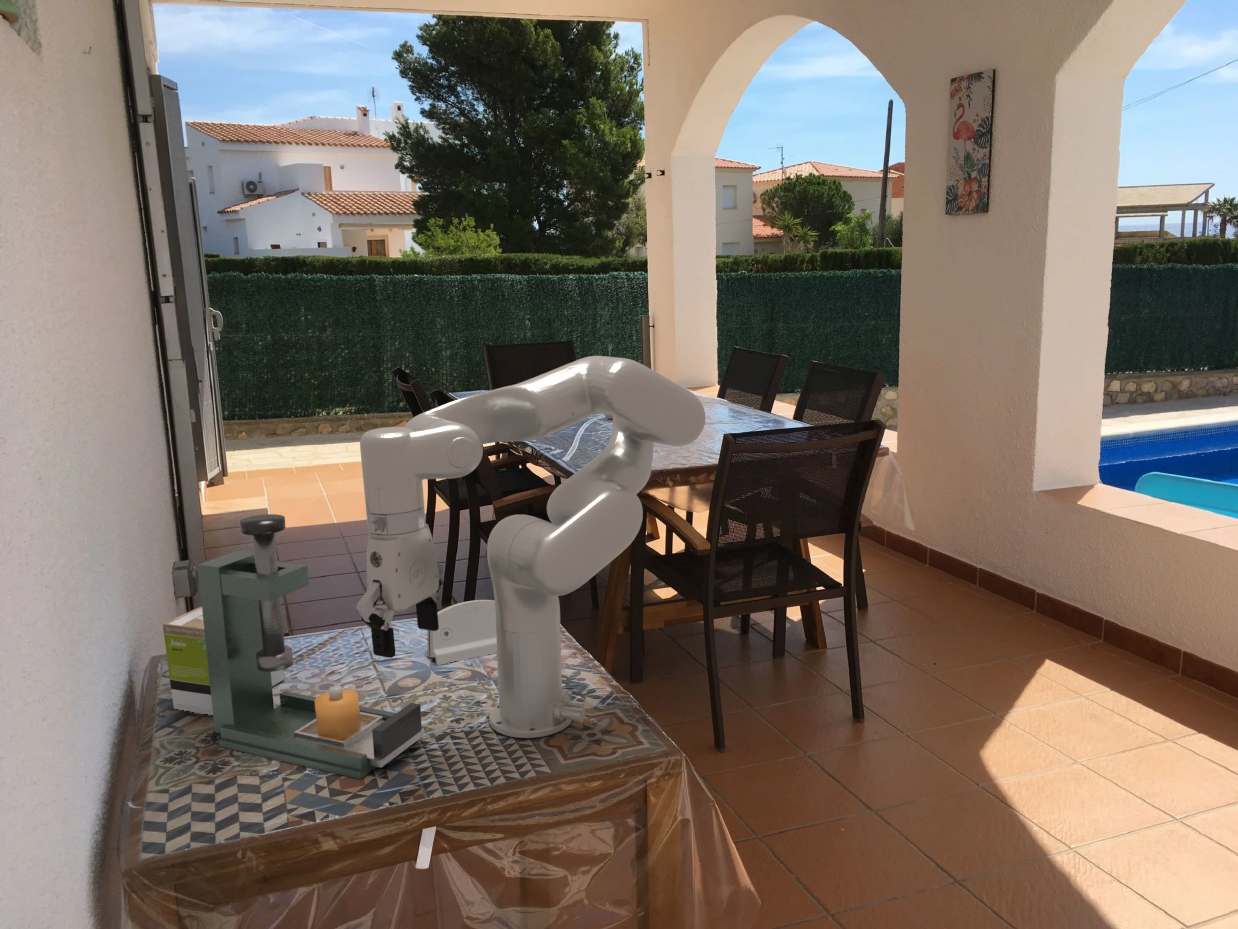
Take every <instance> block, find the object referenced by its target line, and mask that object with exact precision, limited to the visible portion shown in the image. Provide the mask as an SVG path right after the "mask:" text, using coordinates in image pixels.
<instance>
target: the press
mask: <svg viewBox="0 0 1238 929" xmlns="http://www.w3.org/2000/svg"><path fill="white" fill-rule="evenodd" d="M277 562H278V571H277V572H274V573H272V574H269V575H263V574H256V567H255V556H254V551H251V550H250V551H249V550H244V549H243V550H241V549H239V550H236V551H235V550H234V551H233V552H230V553H227V554H224V555H221V556H219V557H216V558H212V559H210V560H207V561H203V562H202V563H199V564H197V571H198V580H199V581H198V582H199V591H200V592H199V593H200V600H201V602H200V603H201V606H202V612H203V621H204V631H205V641H206V651H207V660H208V670H209V680H210V690H211V699H212V709H213V716H212V717H213V726H214V733H215V734H219V733H220V734H219V735H220V739H219V740H218V743H219V744H218V745H219V747H220V748H225V749H230V750H233V751H237V752H242V753H247V754H250V755H255V756H259V757H264V758H269V759H271V760H276V761H280V762H285V763H289V764H293V765H297V766H298V765H299V766H302V767H307V768H309V769H310V768H311V769H315V770H319V771H323V772H328V773H332V774H336V775H340V776H344V777H348V778H353V779H358V780H362V779H363V778H364V777H366V776H367V775H369V773H371V772H373V771H374V770H375V769H376V768H378V767H377V766H372V765H368V764H367V755H366V754H361V753H357V752H352V751H348V750H343V749H339V748H334V747H330V746H325V745H321V744H316V743H312V742H307V741H303V740H298V739H294V732H295V731H297V730H298V729H300V728H302V727H303V726H305V725H306V724H308V723H310V722H311V721H313V720H315V719H316V711H315V699H316V698H317V697H318V696H311V695H306V694H302V693H298V692H297V693H296V692H292V691H287V690H285V691H283V692H280V693H279V705H278V706H276V707H275V705H274V704H275V703H274V693H273V686H272V680H271V672H264V671H260V670H258V668H257V659H256V653H257V652H258V651H260V650H262V649H263V644H262V633H261V622H260V611H259V600H264V601H272V600H275V599H277V598H279V597H284V596H286V595H289V594H291V593H293V592H296V591H298V590H300V589H303V588H305V587H307V586H309V585H310V584H309V582H310V581H309V571H308V565H307V564H299V563H293V562H284V561H278V560H277ZM359 710H360V712H363V713H368V714H373V715H378V716H383V720H384V721H386V720H387V719H388V718H390V717H391V716H393V715H394V714H396V713H397V712H394V711H388V710H383V709H378V708H373V707H367V706H362V705H359Z"/></svg>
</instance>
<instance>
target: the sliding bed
mask: <svg viewBox="0 0 1238 929" xmlns="http://www.w3.org/2000/svg"><path fill="white" fill-rule="evenodd" d="M421 708H422V707H421V704H419V703H416V702H411V703H409V704H407V705H406V706H404V707H403V708H401V709H400V710H399V711H397V712H395V713H396V714H394V715H393V716H391V717H390V718H388V719H387V720H386V721H384V720H383V716H378V715H373V714H368V713H363V712H360V721H361V729H360V730H359V731H357V732H356V733H354V734H353V735H351V736H350V737H349V738H346V739H341V740H336V739H331V738H327V737H322V736H318V731H317V721H316V719H315V720H313V721H311V722H310V723H308V724H306V725H305V726H303V727H302V728H300V729H298V730H297V731H295V732H294V739H298V740H303V741H307V742H312V743H316V744H321V745H325V746H330V747H334V748H339V749H343V750H348V751H352V752H357V753H361V754H366V755H367V764H368V765H372V766H377V767H376V768H383V767H385V765H386V764H388V763H390V762H391V761H392V760H394V758H396V757H398V756H399V755H400V754H402V753H403V752H405V751H406V750H407V749H408V748H410V746H412V745H413V744H414V743H416V742H417V741H418V740H420V739H421V738H423V737H424V736H425V729H424V728H423V727H422V714H421V713H422V711H421V710H422V709H421Z"/></svg>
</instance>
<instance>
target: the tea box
mask: <svg viewBox="0 0 1238 929" xmlns="http://www.w3.org/2000/svg"><path fill="white" fill-rule="evenodd" d="M162 629H163V636H164V645H165V651H166V660H167V668H168V674H169V685H170V691H171V697H172V704H173V709H174V710H176V709H178V710H177V711H181V710H184V711H183V712H186V711H190V712H189V713H192V712H194V713H193V714H198V713H200V714H199V715H204V714H208V715H207V716H211V715H213V709H212V699H211V690H210V680H209V670H208V660H207V651H206V641H205V631H204V621H203V612H202V605H200V606H199V607H197V608H194V609H192V610H190V611H188V612H186V613H184V614H182V615H179V616H177V617H175V618H172V619H171V620H168V621H166V622H164V623H162ZM285 677H286V676H285V669H283V670H280V671H273V672H271V680H272V687H274V686H276V685H277V684H279V683H280V682H282V681H284V680H285V679H286V678H285Z"/></svg>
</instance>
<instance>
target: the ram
mask: <svg viewBox="0 0 1238 929" xmlns="http://www.w3.org/2000/svg"><path fill="white" fill-rule="evenodd" d="M285 518H286V517H285V515H281V514H276V513H275V514H274V513H273V514H271V513H270V514H257V515H253V516H252V515H251V516H247V517H244V518H242V519H240V520H239V526H240V527H239V528H240V533H241V534H242V535H247V536H252V541H253V542H252V543H253V552H254V556H255V567H256V574H263V575H269V574H272V573H274V572H277V571H278V562H279V561H278V553H277V542H276V540H277V539H276V534H277V533H279V532H282V531H284V530H285V529H286V528H287V527H286V519H285ZM277 561H278V562H277ZM259 611H260V622H261V633H262V644H263V649H262V650H260V651H258V652H257V653H256V659H257V668H258V670H260V671H264V672H273V671H280V670H283V669H284V670H286V669H289V668H290V667H292V666H293V665H294V654H293V648H292V647H291V646H288V645H285V634H284V623H283V612H282V599H281V597H279V598H277V599H275V600H272V601H264V600H259Z"/></svg>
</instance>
